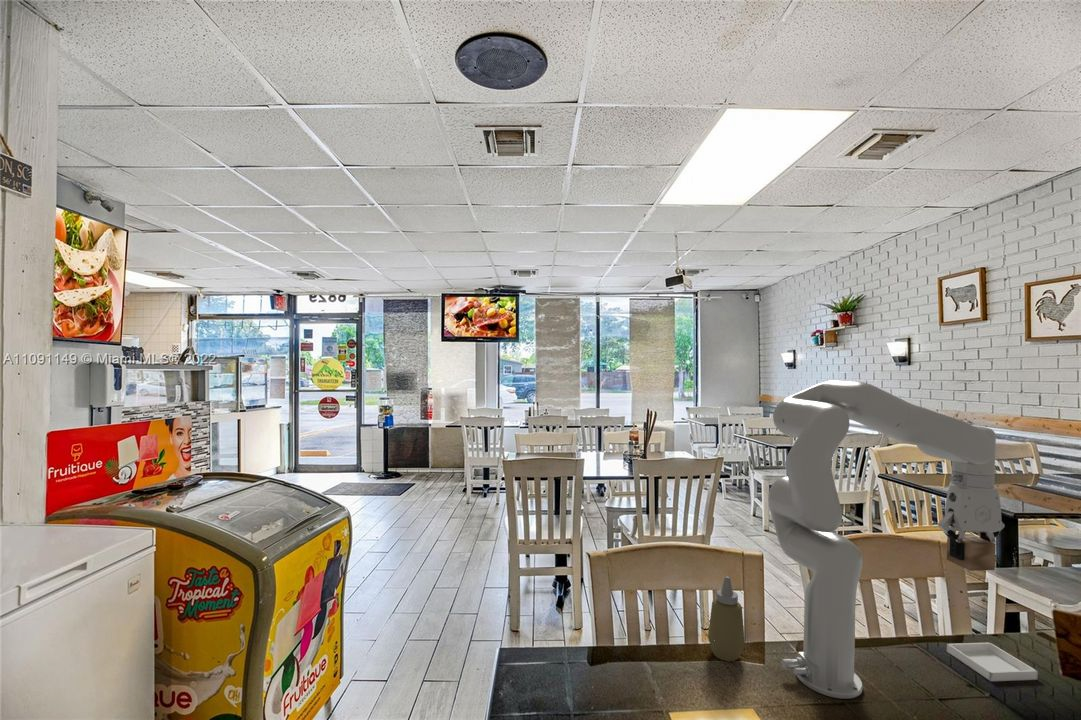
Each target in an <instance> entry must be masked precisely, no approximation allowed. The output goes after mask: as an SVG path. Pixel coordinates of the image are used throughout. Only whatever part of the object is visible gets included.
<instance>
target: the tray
mask: <svg viewBox="0 0 1081 720" xmlns="http://www.w3.org/2000/svg"><path fill="white" fill-rule="evenodd" d="M946 652H947V653H948V654H949V655H951V656H953V657H954V658H956V659H957V660H959V661H960V662H962V663H963V664H965V665H966V666H967V667H969V668H970V669H971V670H973V671H975V672H976V673H978V675H979V674H980V675H981V676H982V677H983V678H985V679H986V680H988V681H989V682H1009V681H1011V682H1012V681H1014V682H1015V681H1035V680H1038V678H1039V677H1038V676H1039V675H1038V674H1039V672H1038V670H1036V668H1034V667H1031V666H1030V665H1028V664H1027V663H1025V662H1023V661H1022V660H1020V659H1018V658H1017V657H1014V656H1013V655H1012V654H1010V653H1008V652H1006V651H1005V650H1003V649H1001V648H1000V647H998V646H996V645H995V644H993V643H991V642H967V643H965V642H964V643H963V642H960V643H946Z"/></svg>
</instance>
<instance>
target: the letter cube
mask: <svg viewBox="0 0 1081 720" xmlns="http://www.w3.org/2000/svg"><path fill="white" fill-rule="evenodd" d="M957 534H958V533H956V535H957ZM946 539H947V540H946V560H947V561H948V562H951V563H953V564H955V565H957V566H960V567H961V568H963V569H966V570H968V571H995V569H996V568H995V567H996V543H995V542H993V543H992V542H990V541H987V540H985V539H982V538H980V537H979V536H977V535H975V534H974V535H973V533H972V534H971V533H965V535H964V538H963V540H962V543H964V560H959V559H956V558H954V557H952V556H950V539H948V538H947V537H946Z"/></svg>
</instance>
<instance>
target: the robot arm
mask: <svg viewBox="0 0 1081 720" xmlns="http://www.w3.org/2000/svg"><path fill="white" fill-rule="evenodd" d="M772 420H773V424H774V426H775V427H776V428H777V430H778V431H779V432H781V433H782V434H784V435H787V436H788V437H789V436H790V437H793V438H797V439H796V440H795V442H794V443H793V445H792V446H791V448H790V450H789V452H788V454H787V456H786V460H785V470H786V476H781V477H779V478H778V479H776V480H775V481H774V482H773V483H772V484H771V486H770V489H769V491H768V507H769V508H768V509H769V511H770V515H771V520H772V523H773V526H774V530H775V533H776V536H777V540H778V543H779V546H780V549H781V550H782V551H783V553H784V554H785V555H786V556H787V558H789V559H791V560H793V561H794V562H796V563H798V564H799V565H801V566H803V567H805V568H806V569H808V570H810V571H811V572H812V577H811V579H810V581H809V582H808V583H807V585H806V586H805V590H804V596H803V597H804V600H803V602H804V607H803V608H804V610H803V614H804V615H803V645H802V647H803V649H802V650H803V651H798V652H797V655H798V656H797V657H794V658H793V659H792V658H783V659H780V664H781V665H780V666H781V667H782V669H783V670H793V674H794V676H796V677H797V678H798V680H799V681H800V682H801V683H803V684H804V685H805V686H806V687H808V688H809V689H811V690H813V691H814V692H817V693H819V694H821V695H824V696H828V697H831V698H834V699H843V700H845V699H850V700H851V699H855V698H858V697H859V696H860V695H861V694H862V693H863V682H862V680H861V678H860V677H859V675H858V674H856V672H855V652H856V651H855V647H856V646H855V645H856V642H855V641H856V637H855V636H856V604H857V603H856V601H857V599H856V598H857V590H858V585H859V581H860V577H861V572H862V570H863V555H862V553H861V551H860V549H859V548H858V547H857V546H856V545H855V544H854V543H853V542H852V541H851V540H849V539H848V538H847V537H845V536H843V535H841V534H838V533H837V532H835V531H836V530H838V529H839V528H840V526H841V524H842V521H843V512H842V510H843V509H842V507H841V506H842V505H841V502H840V499H839V498H840V497H839V495H838V491H837V487H836V483H835V479H834V475H833V469H832V460H833V457H834V454H835V453H836V451H837V449H838V447H839V446H840V444H841V443H842V442H843V440H844V439H845V437H846V436H847V434H848V432H849V428H850V421H853V422H856V423H859V424H861V425H863V426H865V427H867V428H870V429H872V430H874V431H877V432H878V433H881V434H883V435H885V436H887V437H889V438H892V439H893V440H897V441H900V442H903V443H904V442H905V443H908V444H912V445H916V447H917V448H918V450H919V451H920V452H922V453H923V454H925V455H927V456H929V457H934V458H936V459H942V460H946V461H948V460H949V461H951V465H952V466H951V474H950V475H949V477H948V478H949V480H950V481H951V483H949V486H948V490H947V493H946V498H945V499H946V501H945V507H944V509H945V511H944V516H943V518H942V519H940V521H939V522H938V523H937V526H938V528H939V529H941V531H942V532H943V533H944V534H945V535H946V539H947V538H948V539H950V556H952V557H954V558H956V559H959V560H964V543H962V540H963V538H964V535H965V534H967V533H977V534H978V537H979V538H982V539H985V540H987V541H990V542H992V543H995V542H996V538H997V537H998V535H999V534H1000V532H1001V531H1002V530H1003V529H1004V528H1005V526H1006V525H1005V523H1004V522H1003V521H1002V505H1001V500H1000V494H999V490H998V488H997V487H995V478H996V476H995V475H996V473H995V472H996V449H997V448H996V447H997V446H996V445H997V444H996V443H997V442H996V441H997V439H996V437H997V436H996V435H997V434H996V432H995V431H994V430H993V429H992V428H989V427H986V426H980V425H979V426H977V425H972V424H970V423H968V422H965V421H964V420H960V419H958V418H956V417H953V416H949V415H945V414H942V413H939V412H936V411H934V410H930V409H928V408H925V407H922V406H919V405H916V404H913V403H911V402H908V401H906V400H905V399H902V398H900V397H898V396H896V395H893V393H889V392H887V391H886V390H883V389H881V388H879V387H877V386H875V385H873V384H870V383H868V382H867V383H866V382H864V381H863V382H862V381H852V380H850V381H849V380H838V379H833V380H827V381H824V382H820V383H818V384H815V385H812V386H811V387H808V388H806V389H804V390H801V391H799V392H797V393H795V394H792V395H790V396H787V397H786V398H783V399H782V400H781V401H780V402H779V403H778V404H777V405H776V406H775V408H774V410H773V414H772ZM956 534H957V535H956Z"/></svg>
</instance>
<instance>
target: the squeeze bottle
mask: <svg viewBox="0 0 1081 720" xmlns="http://www.w3.org/2000/svg"><path fill="white" fill-rule="evenodd" d="M715 593H716V597H715V599H713V600H712V602H711V610H710V617H709V626H708V631H707V632H708V633H707V638H708V641H709V645H710V644H712V645H710V649H711V651H713V652H712V654H713V655H714V657H716V658H718V659H720V660H721V661H724V660H725V662H730V661H733V662H735V661H734V660H737V659H738V658H739V659H740V657H741V654H742V653H743V650H744V648H745V646H746V645H745V644H746V640H745V627H744V617H743V616H744V615H743V606H742V605H741V603H740V602H739V595H738V593H737V592H735V591H734V589H733V586H732V581H731V577H729V576H724V579H723V583H722V587H721V588H720V589H717V590H716V592H715ZM714 640H715V641H714ZM731 643H736V644H731ZM739 659H738V660H739ZM738 660H737V661H738Z"/></svg>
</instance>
